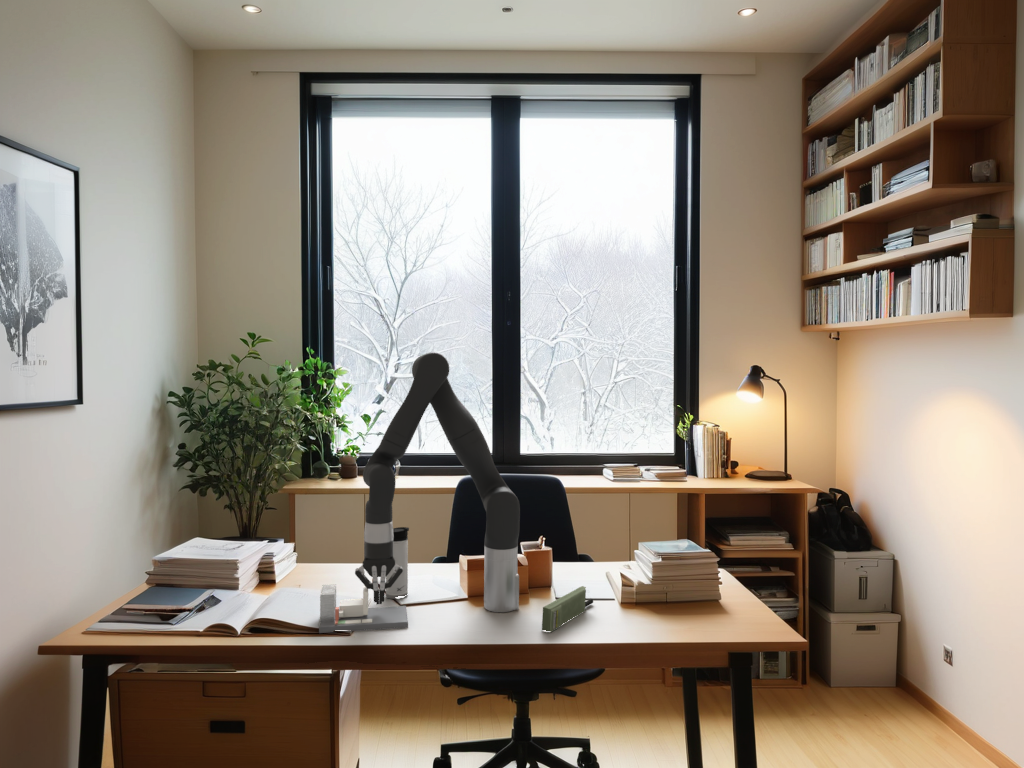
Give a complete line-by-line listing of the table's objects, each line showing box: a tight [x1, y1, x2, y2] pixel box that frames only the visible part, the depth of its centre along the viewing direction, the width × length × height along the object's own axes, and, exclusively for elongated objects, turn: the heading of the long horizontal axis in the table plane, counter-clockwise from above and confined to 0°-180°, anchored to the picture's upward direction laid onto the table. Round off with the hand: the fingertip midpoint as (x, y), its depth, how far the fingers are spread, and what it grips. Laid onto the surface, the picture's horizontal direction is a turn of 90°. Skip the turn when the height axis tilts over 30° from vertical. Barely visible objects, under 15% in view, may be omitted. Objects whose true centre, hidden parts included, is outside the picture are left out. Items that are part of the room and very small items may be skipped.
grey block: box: [319, 584, 337, 623], centre depth 182 cm, size 4×8×7 cm, turn 11°
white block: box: [338, 584, 369, 618], centre depth 183 cm, size 7×8×6 cm
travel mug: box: [385, 526, 410, 600], centre depth 203 cm, size 6×7×20 cm
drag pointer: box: [335, 606, 339, 624], centre depth 178 cm, size 1×4×3 cm, turn 11°
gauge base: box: [318, 605, 409, 634], centre depth 183 cm, size 22×12×2 cm, turn 101°
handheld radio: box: [541, 585, 594, 632], centre depth 187 cm, size 7×3×25 cm
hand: (379, 603), depth 185 cm, fingers closed
